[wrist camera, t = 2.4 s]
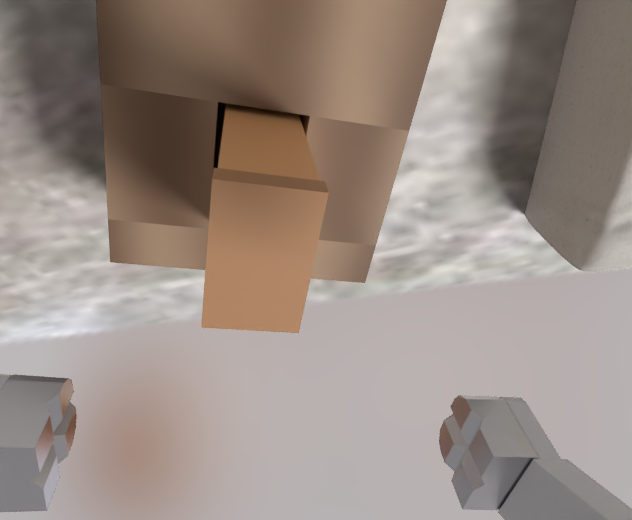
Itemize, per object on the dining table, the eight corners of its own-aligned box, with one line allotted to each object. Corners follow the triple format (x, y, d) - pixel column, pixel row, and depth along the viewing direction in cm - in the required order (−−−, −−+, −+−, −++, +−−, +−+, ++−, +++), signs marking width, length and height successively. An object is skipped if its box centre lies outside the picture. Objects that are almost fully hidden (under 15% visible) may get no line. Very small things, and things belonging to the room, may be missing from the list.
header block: (136, 202, 26) (110, 262, 21) (125, -378, 15) (66, -535, 10) (344, 224, 29) (364, 282, 24) (463, -264, 18) (547, -347, 13)
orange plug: (217, 190, 24) (201, 327, 15) (226, 85, 21) (212, 179, 13) (280, 197, 25) (298, 333, 16) (296, 96, 22) (328, 192, 13)
